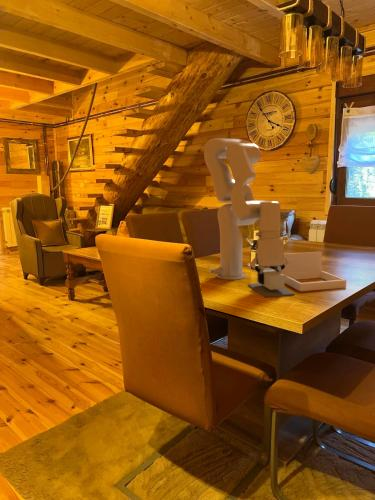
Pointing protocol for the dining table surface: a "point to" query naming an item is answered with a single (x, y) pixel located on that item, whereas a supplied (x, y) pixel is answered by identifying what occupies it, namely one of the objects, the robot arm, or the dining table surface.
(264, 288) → the slate mat
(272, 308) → the dining table surface
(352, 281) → the dining table surface
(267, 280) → the box
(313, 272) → the carton
